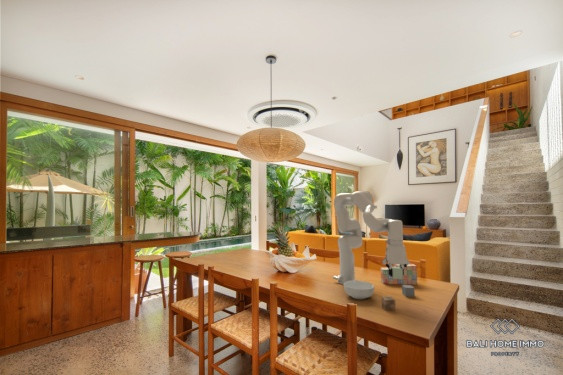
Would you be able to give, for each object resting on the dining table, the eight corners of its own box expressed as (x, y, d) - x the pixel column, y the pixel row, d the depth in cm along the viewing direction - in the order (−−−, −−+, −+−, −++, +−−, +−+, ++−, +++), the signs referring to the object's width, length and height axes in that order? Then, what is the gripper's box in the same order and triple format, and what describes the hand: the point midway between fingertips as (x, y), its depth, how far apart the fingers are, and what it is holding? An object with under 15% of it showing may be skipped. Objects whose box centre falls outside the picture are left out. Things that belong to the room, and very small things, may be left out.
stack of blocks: (383, 284, 175) (382, 265, 176) (380, 281, 181) (380, 262, 182) (417, 284, 173) (416, 265, 173) (413, 281, 179) (413, 263, 180)
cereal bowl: (370, 304, 140) (369, 291, 141) (339, 298, 149) (339, 286, 149) (377, 294, 155) (377, 282, 155) (349, 290, 164) (349, 278, 164)
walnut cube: (385, 310, 133) (384, 300, 133) (382, 306, 138) (381, 296, 138) (395, 310, 133) (395, 300, 133) (391, 306, 138) (391, 296, 138)
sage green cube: (393, 278, 143) (393, 269, 143) (389, 275, 148) (389, 266, 148) (402, 278, 143) (402, 269, 143) (399, 275, 148) (398, 266, 148)
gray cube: (405, 296, 151) (405, 287, 152) (402, 293, 156) (401, 285, 157) (414, 296, 151) (414, 287, 151) (410, 293, 156) (410, 285, 156)
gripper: (382, 243, 143) (382, 278, 142) (414, 243, 142) (415, 278, 141) (377, 241, 150) (378, 274, 149) (408, 241, 149) (409, 274, 149)
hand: (396, 275), depth 145 cm, fingers closed on sage green cube, 4 cm apart
